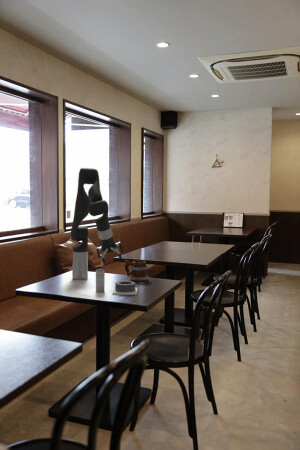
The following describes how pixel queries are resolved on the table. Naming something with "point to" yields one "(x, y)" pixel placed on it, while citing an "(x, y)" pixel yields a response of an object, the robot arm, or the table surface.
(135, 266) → the mug
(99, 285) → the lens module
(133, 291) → the grey ring on base
